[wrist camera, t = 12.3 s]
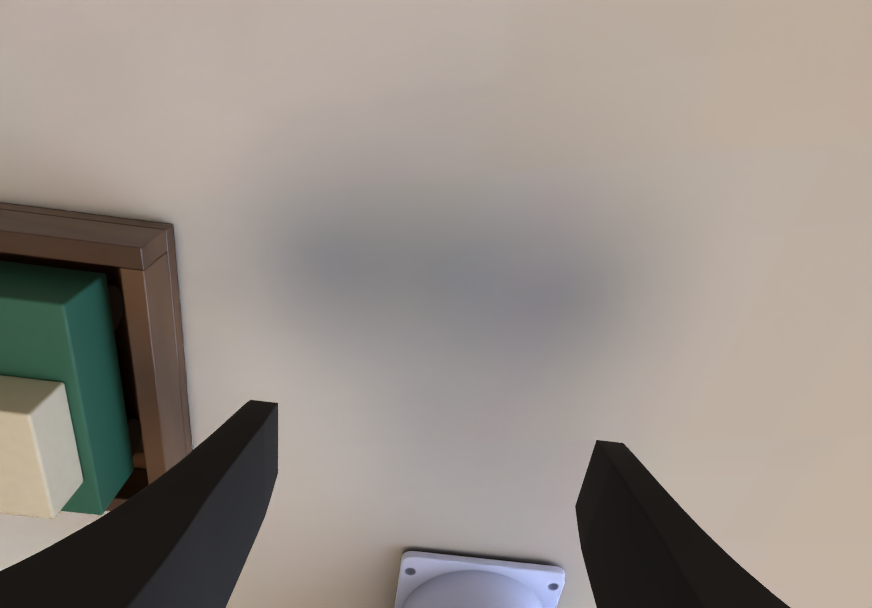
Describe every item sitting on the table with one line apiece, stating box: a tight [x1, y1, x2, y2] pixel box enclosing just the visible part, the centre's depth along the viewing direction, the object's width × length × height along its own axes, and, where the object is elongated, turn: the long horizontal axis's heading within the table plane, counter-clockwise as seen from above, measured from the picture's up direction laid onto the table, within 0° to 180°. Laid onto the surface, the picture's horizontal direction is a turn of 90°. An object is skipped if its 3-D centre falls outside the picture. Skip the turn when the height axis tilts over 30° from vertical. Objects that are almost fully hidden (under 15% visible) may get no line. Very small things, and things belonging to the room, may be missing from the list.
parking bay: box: [0, 203, 192, 511], centre depth 22 cm, size 12×8×2 cm
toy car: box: [0, 261, 140, 519], centre depth 20 cm, size 9×5×5 cm, turn 173°
